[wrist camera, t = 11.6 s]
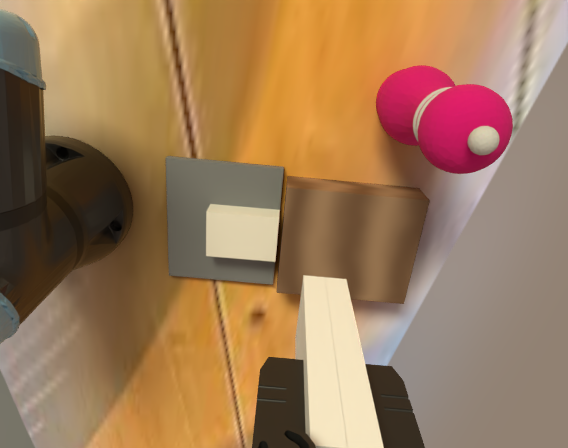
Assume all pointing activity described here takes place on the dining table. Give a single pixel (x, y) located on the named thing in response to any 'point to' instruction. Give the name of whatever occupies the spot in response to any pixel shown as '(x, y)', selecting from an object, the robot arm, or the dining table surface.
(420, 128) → the pepper mill
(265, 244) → the ceramic tile
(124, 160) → the dining table surface
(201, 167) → the charcoal mat
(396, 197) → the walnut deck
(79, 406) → the dining table surface
